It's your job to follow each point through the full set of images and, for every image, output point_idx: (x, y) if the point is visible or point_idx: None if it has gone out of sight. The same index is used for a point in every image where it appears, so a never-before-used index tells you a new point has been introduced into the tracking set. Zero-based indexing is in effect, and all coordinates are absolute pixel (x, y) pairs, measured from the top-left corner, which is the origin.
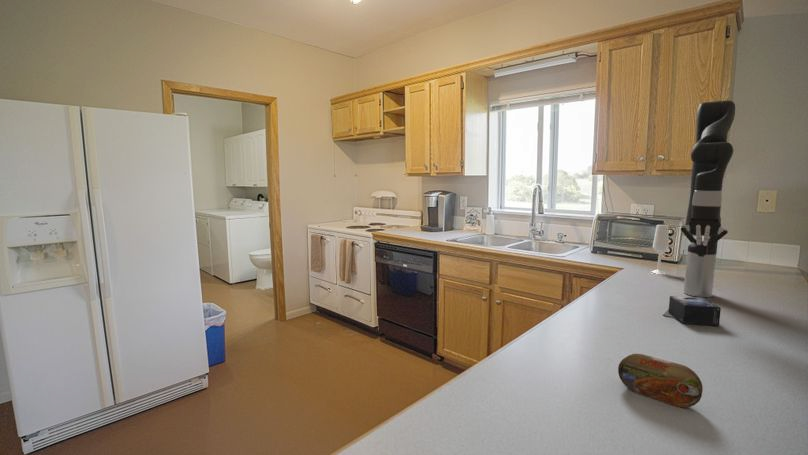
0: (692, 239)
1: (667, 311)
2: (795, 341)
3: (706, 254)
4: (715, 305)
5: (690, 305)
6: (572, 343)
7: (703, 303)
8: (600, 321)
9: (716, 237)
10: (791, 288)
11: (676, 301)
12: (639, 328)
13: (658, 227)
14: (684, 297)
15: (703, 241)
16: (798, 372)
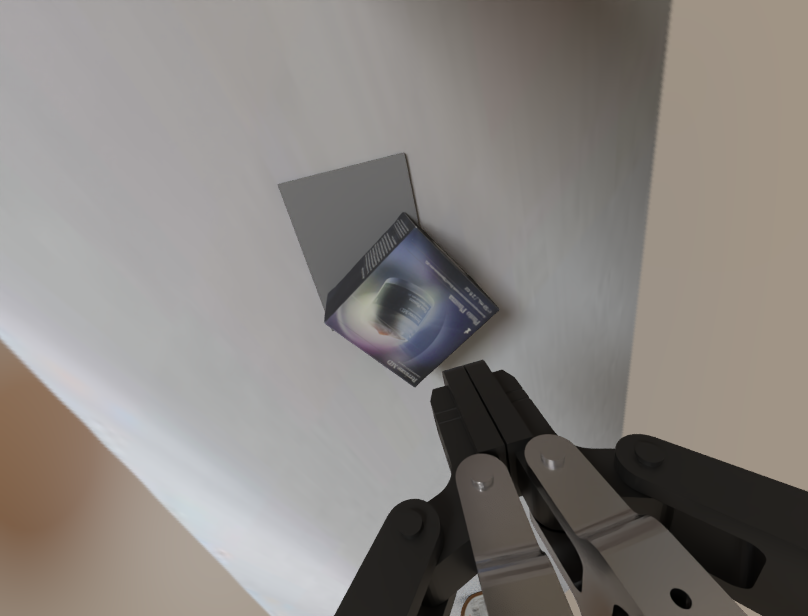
0: (437, 608)
1: (318, 283)
2: (635, 221)
3: (505, 373)
4: (482, 305)
5: (427, 373)
6: (342, 589)
7: (450, 324)
8: (282, 496)
9: (755, 601)
10: None
11: (371, 354)
12: (359, 459)
13: None
14: (373, 306)
15: (554, 556)
16: (622, 405)
